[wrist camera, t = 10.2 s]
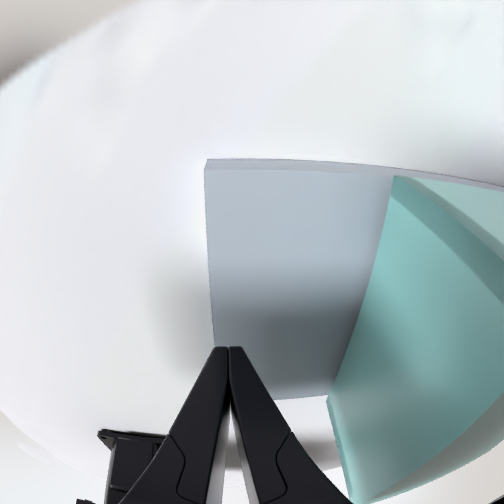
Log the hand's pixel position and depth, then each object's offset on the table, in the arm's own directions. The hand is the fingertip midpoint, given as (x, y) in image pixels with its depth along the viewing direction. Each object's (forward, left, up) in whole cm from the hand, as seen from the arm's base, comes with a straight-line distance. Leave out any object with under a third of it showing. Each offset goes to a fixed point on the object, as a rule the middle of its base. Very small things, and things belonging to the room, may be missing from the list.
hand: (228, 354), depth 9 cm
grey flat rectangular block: (0, -12, -2) cm, 12 cm away
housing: (0, -9, -1) cm, 9 cm away
